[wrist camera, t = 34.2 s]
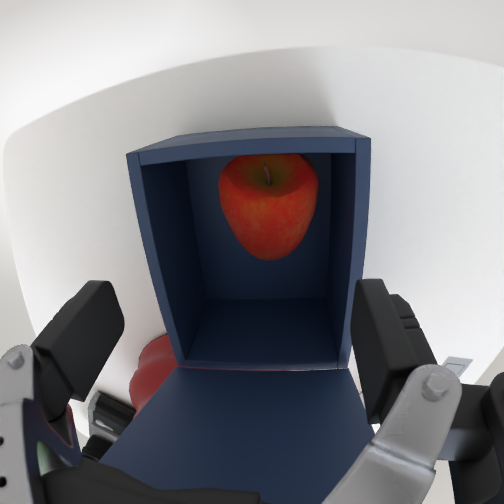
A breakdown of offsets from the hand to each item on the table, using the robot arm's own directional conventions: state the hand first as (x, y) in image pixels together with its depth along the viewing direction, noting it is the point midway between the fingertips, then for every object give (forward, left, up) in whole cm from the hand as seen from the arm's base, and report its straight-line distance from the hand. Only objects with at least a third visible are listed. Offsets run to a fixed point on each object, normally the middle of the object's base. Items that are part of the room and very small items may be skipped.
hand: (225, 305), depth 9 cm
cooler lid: (+8, 0, +1) cm, 8 cm away
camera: (+39, -26, -16) cm, 50 cm away
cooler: (+4, 0, -16) cm, 16 cm away
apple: (+4, +1, -14) cm, 15 cm away
